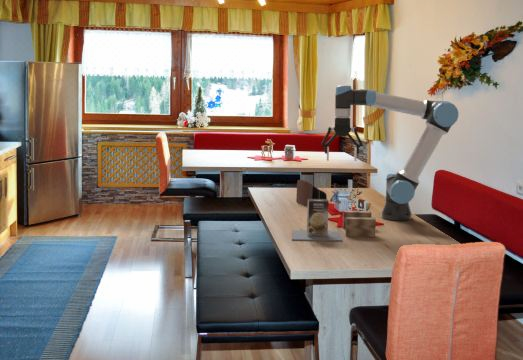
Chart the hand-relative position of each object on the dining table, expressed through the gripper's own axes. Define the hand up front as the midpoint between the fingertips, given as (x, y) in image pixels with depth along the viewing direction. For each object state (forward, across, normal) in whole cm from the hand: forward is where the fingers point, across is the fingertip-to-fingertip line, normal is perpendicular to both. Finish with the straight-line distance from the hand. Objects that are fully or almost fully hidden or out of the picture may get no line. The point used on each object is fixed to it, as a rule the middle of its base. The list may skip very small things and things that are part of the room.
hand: (341, 160), depth 329 cm
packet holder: (+31, -7, +22) cm, 38 cm away
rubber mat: (+31, +13, +33) cm, 47 cm away
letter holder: (+31, +13, -46) cm, 57 cm away
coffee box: (+30, +13, +33) cm, 47 cm away
